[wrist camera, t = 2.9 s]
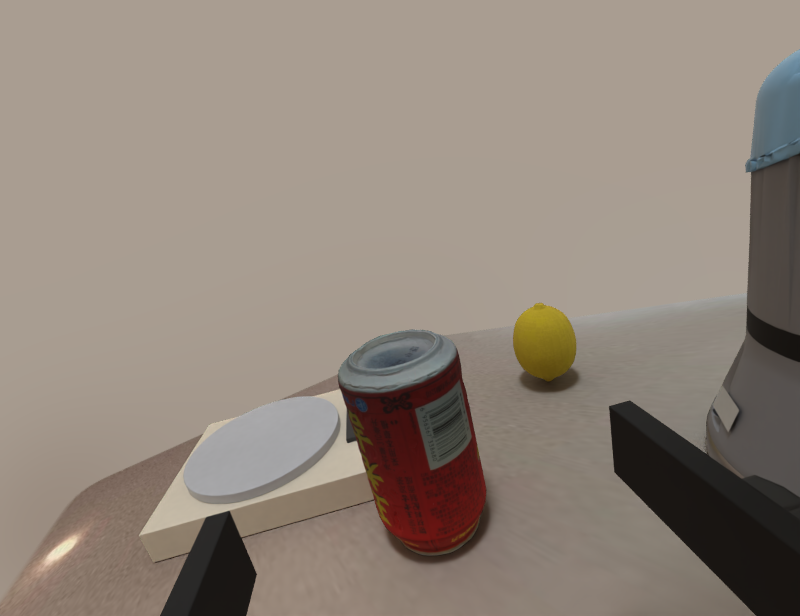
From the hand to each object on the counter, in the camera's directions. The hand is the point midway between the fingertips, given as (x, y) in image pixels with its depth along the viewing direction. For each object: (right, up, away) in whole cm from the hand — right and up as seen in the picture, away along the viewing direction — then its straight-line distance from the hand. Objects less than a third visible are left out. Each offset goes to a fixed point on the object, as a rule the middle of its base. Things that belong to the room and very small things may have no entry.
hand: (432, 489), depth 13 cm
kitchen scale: (-11, -8, +21) cm, 25 cm away
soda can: (+1, -8, +12) cm, 15 cm away
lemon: (+13, -1, +25) cm, 28 cm away
